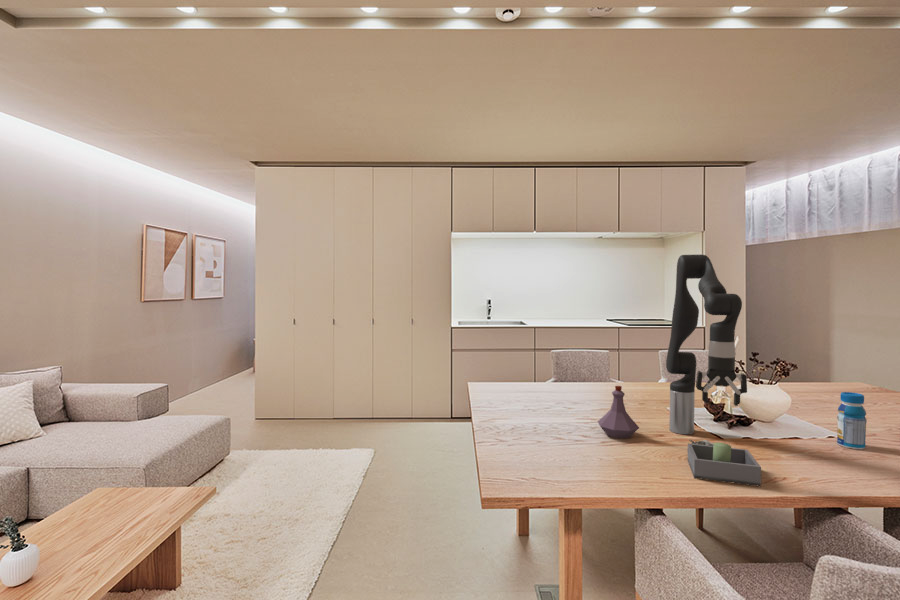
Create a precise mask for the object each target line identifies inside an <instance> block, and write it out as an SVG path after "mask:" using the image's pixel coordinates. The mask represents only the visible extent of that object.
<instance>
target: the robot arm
mask: <svg viewBox="0 0 900 600" xmlns="http://www.w3.org/2000/svg"><path fill="white" fill-rule="evenodd" d="M675 277H676V278H675V296H674V304H673V310H672V316H671V317H672V319H671V330H670V340H669V345H668V350H667V354H666V360H665V367H666V371H667V372H668V373H669V374H673V375H683V377H681V378H679V379H677V380H673V381H672V382H670V384H669V432H672V433H675V434H679V435H693V434H694V433H695V397H696V396H695V391H696V390H698V391H701V392H702V396H701V399H702V401H703V402H704V404H709V392H708V391H709V390H710V389H711V388H712V387H713V386H715V387H721V386H722V387H726V388H727V387H730V388H731V390H732V391H733V392H734V393H733V405H734V406H735V407H738V406H739V405H740V404H741V395H742V394H747V392H748V382H747V381H748V380H747V374H745V373H744V372H741V373H736V355H737V354H736V345H735V344H736V343H735V335H736V334H735V332H736V326H737V324H738V323H737V322H738V319H739V317H740V315H741V311H742V307H743V301H742V298H741V296H740V295H738V294H736V293H727V290H726V289H727V288H725V286H724V285H723V284H722V282H721V281H720V279H719V278H718V276H717V273H716V271H715V269H714V266H713V264H712V260H711V259H710V257H709V256H707V255H706V254H681V255H680V256H679V257H678V259H677V263H676V275H675ZM688 279H691V280H692V279H699V280H698V285H697V288H698V291H699V293H700V295H701V296H702V297H703V299H704V302H703V308H704V311H705V312H706V314H709V315H711V316H725V318H724V319H723V320H722V321H717V322H712V323H710V326H709V344H708V359H707V360H708V361H707V364H708V366H707V371H701V370H697V359H696V355H695V353H693V352H691V351H680V350H681V349H680V348H681V346H682V345H683V343H684V342H685V341H686V340H687V339H688V338H689V337H690V336H691V335H692V334H693V333H694V331H695V330H696V328H697V326H698V322H699V314H700V309H699V307H698V305H697V303H696V301H695V300H694V298H693V297H692V295H691V293H690V290H689V288H688V284H687V283H688V282H687V281H688ZM705 377H707V378H708V380H707V382H705V384H704V385H703V386H702V381H703V379H705ZM736 379H738V380H739V381H740V388H738V387H737V386H736V384H734V381H735V380H736ZM695 388H696V390H695Z"/></svg>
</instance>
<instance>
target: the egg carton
mask: <svg viewBox="0 0 900 600" xmlns="http://www.w3.org/2000/svg"><path fill="white" fill-rule="evenodd" d="M689 442H690V444H699V445H708V446H713V444H714V443H715V442H714V443H713V442H711V441H709V440H706V439H703V440H698V441H697V440H696V441H694V440H692V439H689Z"/></svg>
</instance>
